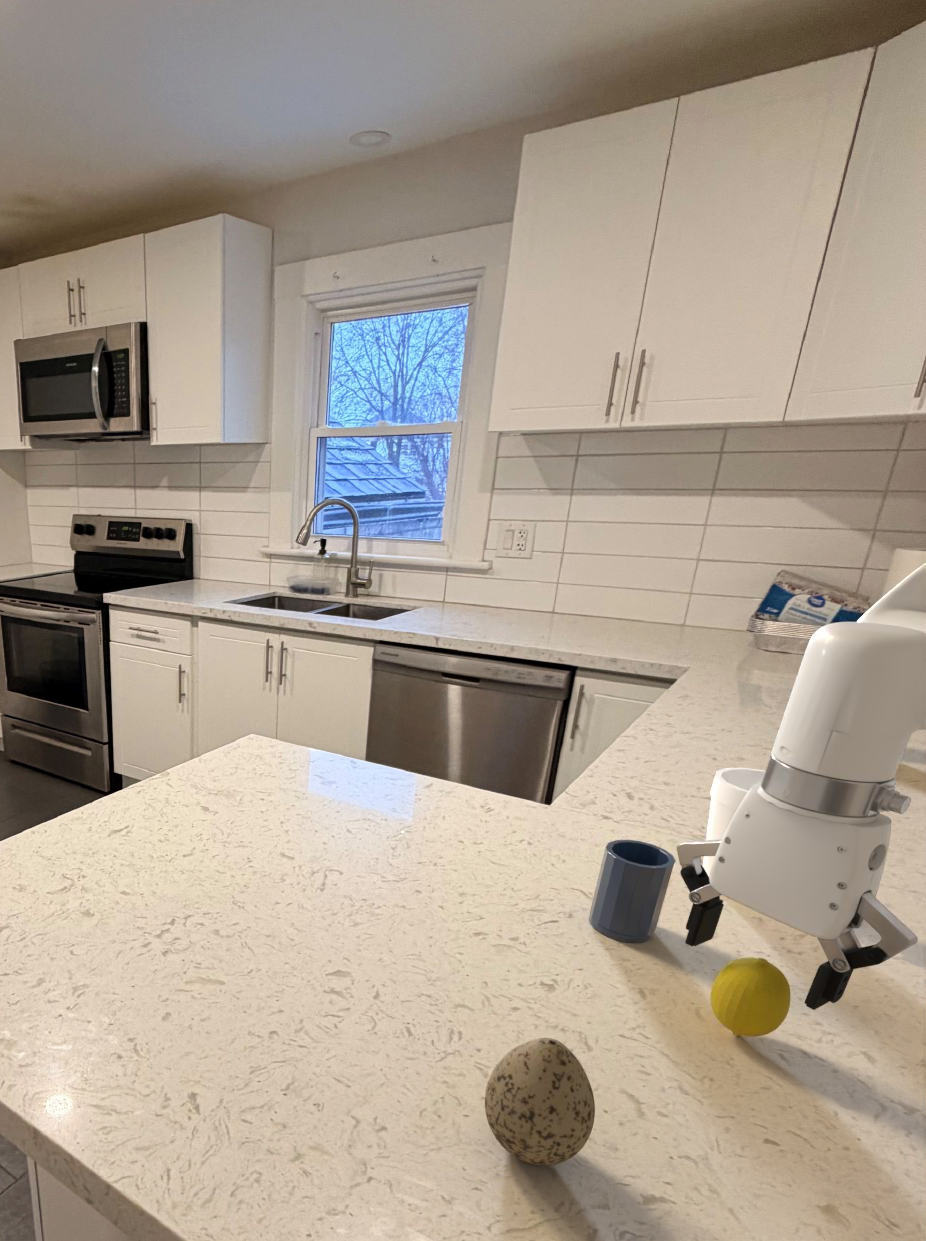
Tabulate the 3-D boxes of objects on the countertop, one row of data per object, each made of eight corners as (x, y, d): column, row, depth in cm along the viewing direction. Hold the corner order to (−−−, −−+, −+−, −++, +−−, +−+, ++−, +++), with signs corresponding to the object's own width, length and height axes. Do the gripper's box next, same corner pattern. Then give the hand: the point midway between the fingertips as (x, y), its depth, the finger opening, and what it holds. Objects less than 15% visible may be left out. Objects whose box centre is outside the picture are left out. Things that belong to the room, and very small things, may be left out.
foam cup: (770, 873, 98) (803, 775, 93) (787, 909, 90) (824, 804, 85) (682, 857, 101) (709, 762, 96) (691, 890, 94) (720, 789, 89)
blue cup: (667, 933, 85) (688, 859, 82) (629, 949, 83) (650, 873, 79) (613, 905, 91) (631, 835, 87) (576, 919, 88) (593, 847, 84)
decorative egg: (521, 1100, 63) (544, 998, 59) (602, 1166, 57) (634, 1058, 53) (456, 1134, 60) (475, 1028, 56) (534, 1207, 54) (563, 1095, 50)
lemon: (686, 1015, 73) (709, 942, 70) (743, 1013, 73) (769, 940, 70) (729, 1057, 68) (756, 980, 65) (790, 1055, 68) (820, 978, 65)
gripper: (988, 821, 56) (897, 1017, 62) (733, 744, 70) (681, 911, 76) (939, 842, 53) (849, 1046, 59) (682, 757, 66) (632, 931, 73)
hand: (754, 970), depth 68 cm, fingers open, 9 cm apart
